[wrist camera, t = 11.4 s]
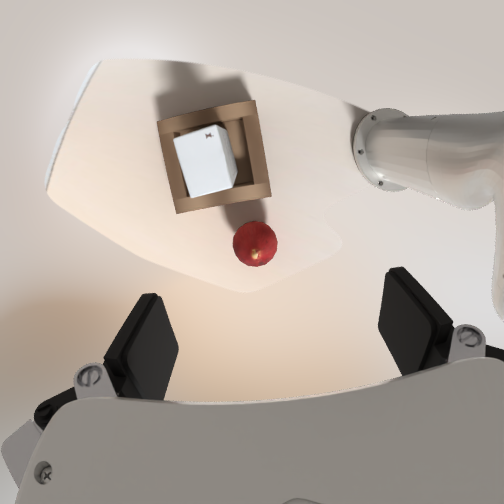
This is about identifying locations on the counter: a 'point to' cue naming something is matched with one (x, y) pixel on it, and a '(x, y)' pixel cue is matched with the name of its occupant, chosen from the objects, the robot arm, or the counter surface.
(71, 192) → the counter surface
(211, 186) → the skincare box
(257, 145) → the wooden tray
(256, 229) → the onion
